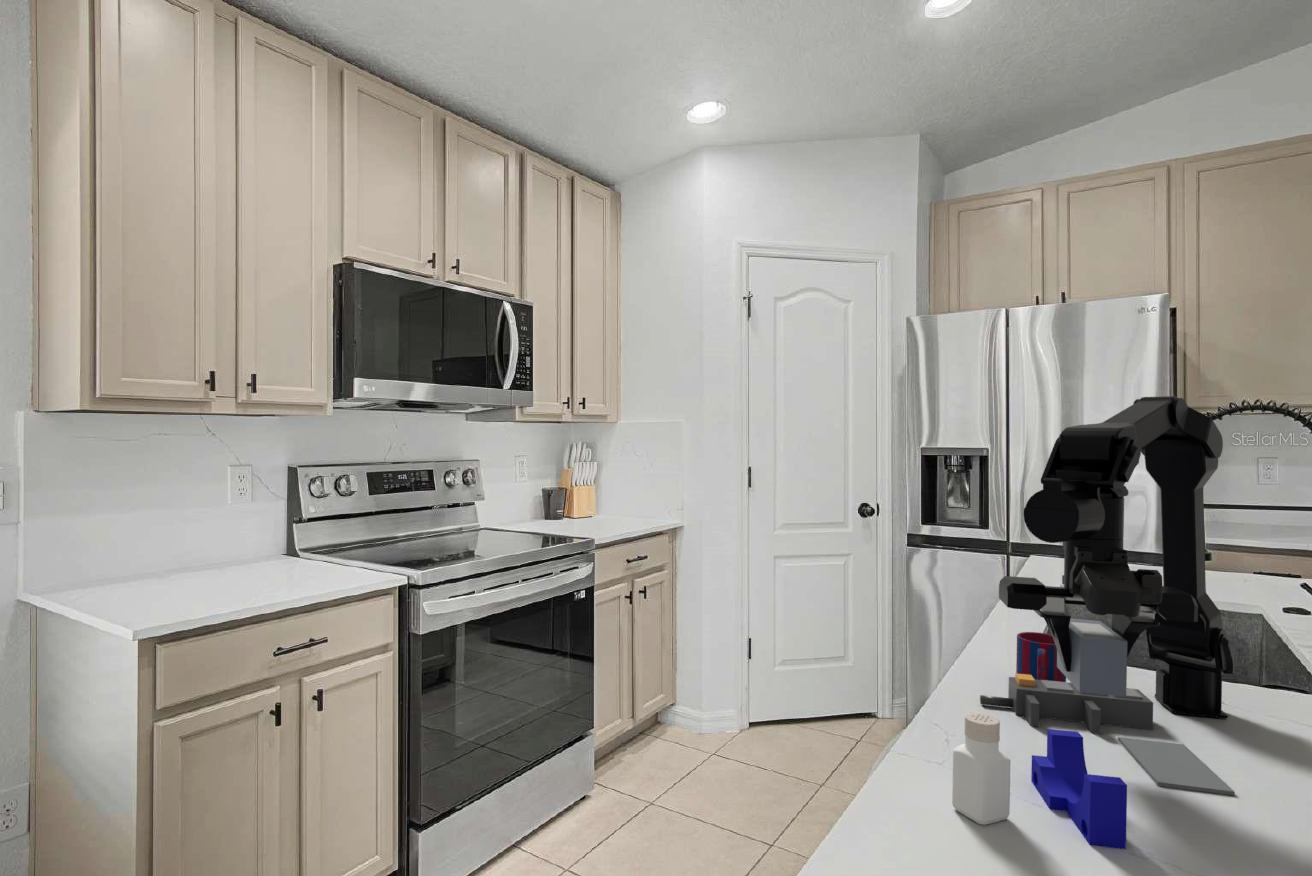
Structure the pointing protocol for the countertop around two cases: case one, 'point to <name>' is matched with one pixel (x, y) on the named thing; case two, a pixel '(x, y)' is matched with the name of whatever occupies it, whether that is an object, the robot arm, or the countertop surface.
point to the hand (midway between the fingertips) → (1091, 672)
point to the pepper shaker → (981, 772)
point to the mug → (1038, 656)
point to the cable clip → (1081, 790)
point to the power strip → (1073, 704)
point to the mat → (1174, 766)
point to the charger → (1096, 658)
